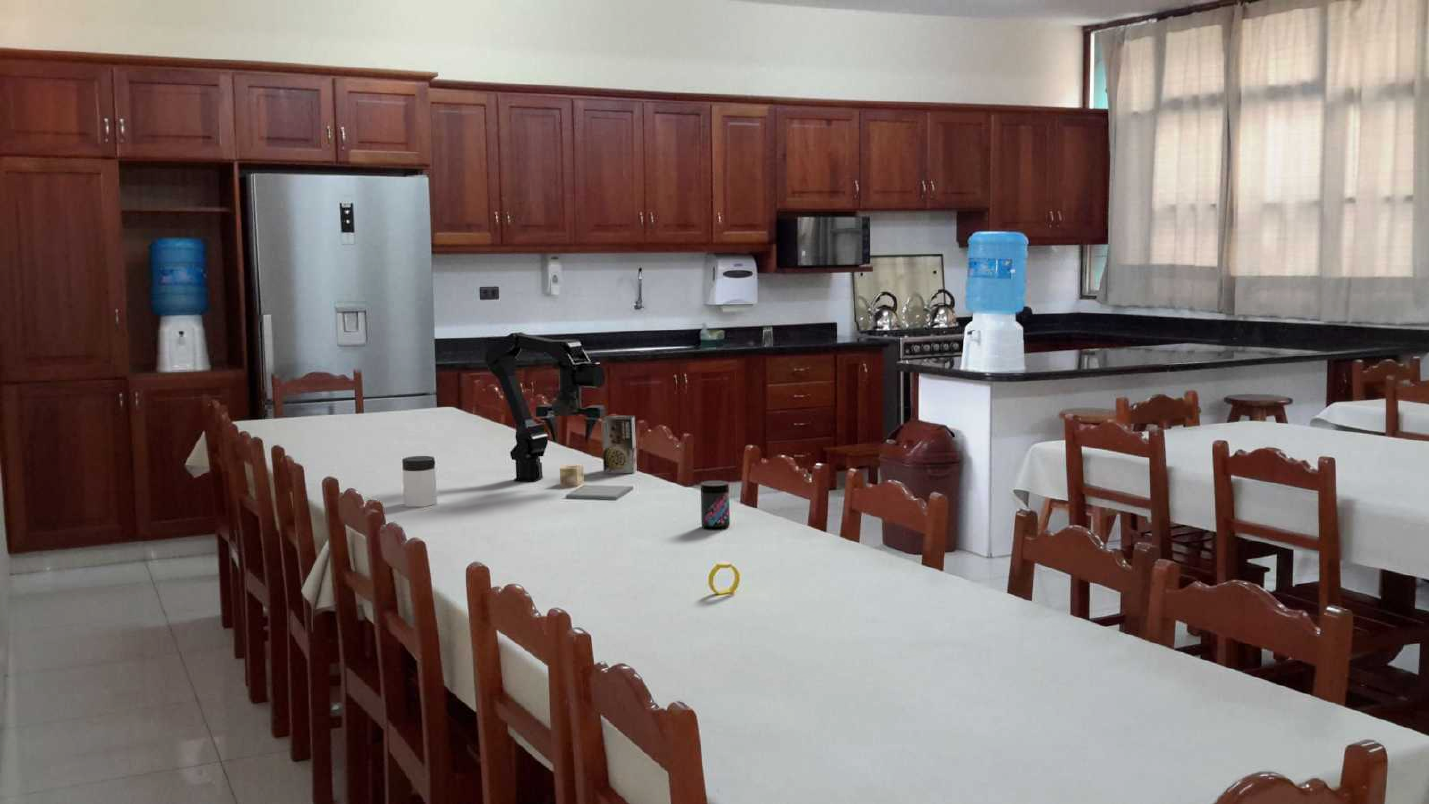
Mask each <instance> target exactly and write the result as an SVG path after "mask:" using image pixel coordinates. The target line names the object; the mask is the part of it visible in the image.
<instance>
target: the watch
mask: <svg viewBox="0 0 1429 804" xmlns="http://www.w3.org/2000/svg"><path fill="white" fill-rule="evenodd" d="M729 568H731V569H732V571H733V573H734V581H733V584H732V585H731V586H730V588H729V589H727V590H719V591H717V589H716V588H715V585H714V577H715V575H716V574H717V572H718V571H719V570H720V569H729ZM740 580H741V579H740V573H739V571H738V569H737V567H736V566H734V565H732V562H731V561H724V560H723V561H718V562H716V566H714V567H713V568H712V569H711V571H710V572H709V574H708V586H709V588H710V590H711V591H712V592H713V593H715V594H717V595H718V596H721V595H726V594H733V593H734V592H735V591H736V590H737V589H738V587H739V583H740Z"/></svg>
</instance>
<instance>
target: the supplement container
mask: <svg viewBox="0 0 1429 804" xmlns="http://www.w3.org/2000/svg"><path fill="white" fill-rule="evenodd" d="M699 484H700V487H699V488H700V521H701V522H700V525H701V527H702V528H703V529H704V530H710V531H720V530H725V529H728V528H729V527H730V524H731V522H730V521H731V517H730V516H731V514H730V513H731V511H730V482H729V481H726V480H705V481H701V482H700V483H699Z"/></svg>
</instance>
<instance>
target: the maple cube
mask: <svg viewBox="0 0 1429 804" xmlns="http://www.w3.org/2000/svg"><path fill="white" fill-rule="evenodd" d="M584 478H585V477H584V465H571V464H570V465H564V466H561V467H560V468H559V479H560V480H559V482H560V483H559V484H560V487H572V488H573V487H574V488H576V487H578V488H579V487H581V485H583V484H584V483H585V479H584Z"/></svg>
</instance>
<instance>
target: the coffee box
mask: <svg viewBox="0 0 1429 804" xmlns="http://www.w3.org/2000/svg"><path fill="white" fill-rule="evenodd" d="M600 422H601V437H602V460H603V474H634V473H635V472H637V470H638V467H637V466H638V465H637V441H636V440H637V438H636V436H637V435H636V415H605V416H603V418H601V421H600Z"/></svg>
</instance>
